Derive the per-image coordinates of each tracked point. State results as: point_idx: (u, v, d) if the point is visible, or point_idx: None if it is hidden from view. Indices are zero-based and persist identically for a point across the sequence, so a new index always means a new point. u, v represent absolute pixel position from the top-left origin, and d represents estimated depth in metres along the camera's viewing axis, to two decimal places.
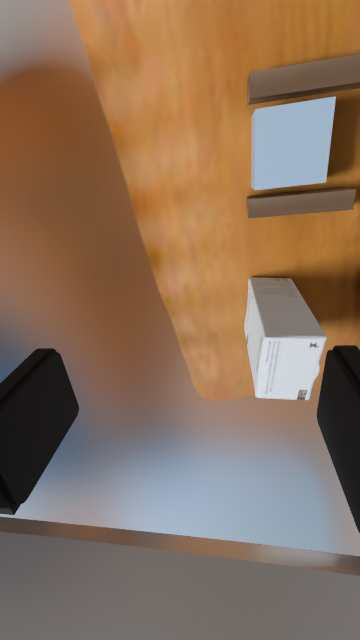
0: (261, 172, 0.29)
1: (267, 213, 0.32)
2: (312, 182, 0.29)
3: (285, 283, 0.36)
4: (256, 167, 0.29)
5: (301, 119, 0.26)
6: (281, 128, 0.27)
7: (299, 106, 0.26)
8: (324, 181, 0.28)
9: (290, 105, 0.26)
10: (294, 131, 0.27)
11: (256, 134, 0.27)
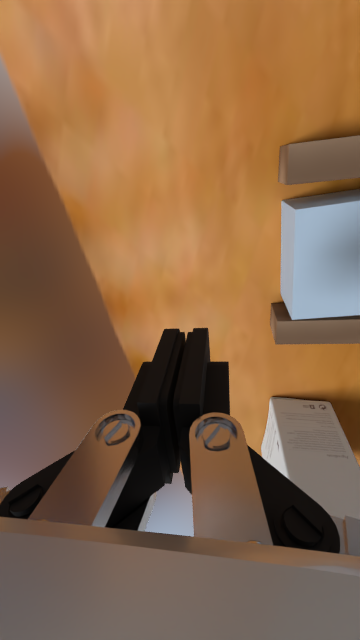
0: (303, 297, 0.18)
1: (305, 340, 0.21)
2: None
3: (324, 416, 0.25)
4: (295, 290, 0.18)
5: None
6: (339, 237, 0.16)
7: None
8: None
9: (357, 204, 0.15)
10: None
11: (296, 246, 0.16)
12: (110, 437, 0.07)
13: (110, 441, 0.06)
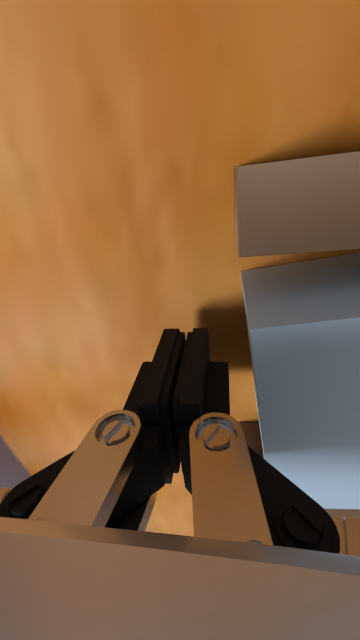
0: (288, 478, 0.09)
1: None
2: None
3: None
4: None
5: None
6: None
7: None
8: None
9: None
10: None
11: (261, 396, 0.07)
12: (110, 437, 0.07)
13: (110, 441, 0.06)
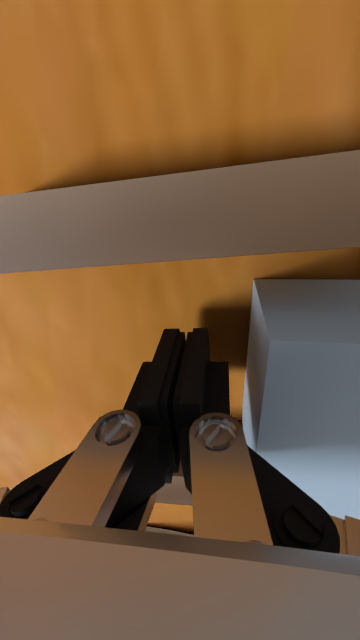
0: None
1: None
2: None
3: None
4: None
5: None
6: None
7: None
8: None
9: None
10: None
11: (266, 405, 0.08)
12: (110, 437, 0.07)
13: (110, 441, 0.06)
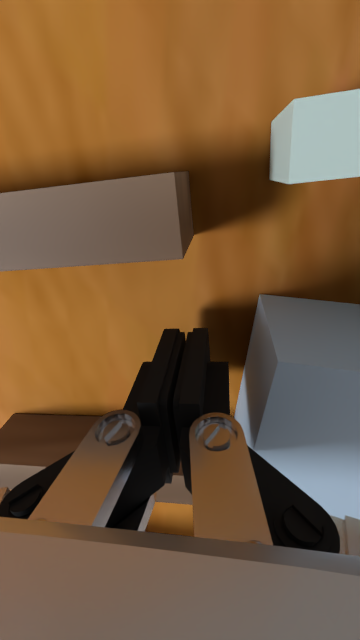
0: None
1: None
2: None
3: None
4: None
5: None
6: (355, 427, 0.08)
7: None
8: None
9: None
10: None
11: (265, 420, 0.08)
12: (110, 437, 0.07)
13: (110, 441, 0.06)
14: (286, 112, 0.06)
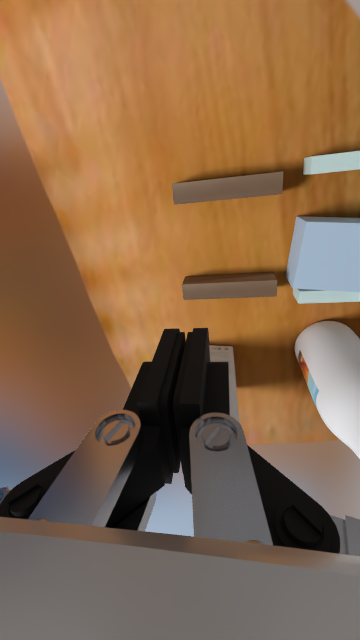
0: (301, 275, 0.30)
1: (200, 296, 0.34)
2: (348, 290, 0.30)
3: (225, 353, 0.38)
4: (298, 269, 0.30)
5: (347, 237, 0.28)
6: (327, 241, 0.28)
7: (347, 226, 0.27)
8: (359, 291, 0.30)
9: (339, 224, 0.27)
10: (339, 246, 0.28)
11: (303, 242, 0.29)
12: (110, 437, 0.07)
13: (110, 441, 0.06)
14: (310, 158, 0.27)
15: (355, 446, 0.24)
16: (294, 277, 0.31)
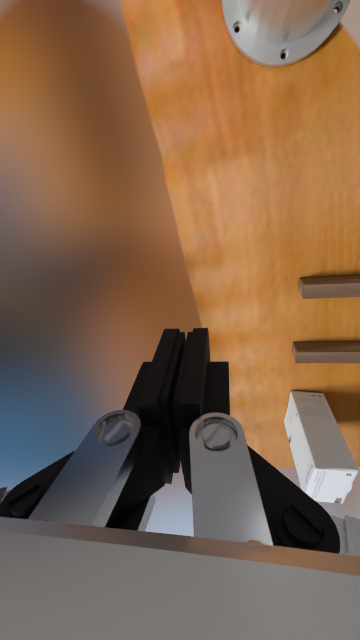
0: None
1: (310, 361, 0.44)
2: None
3: (320, 400, 0.48)
4: None
5: None
6: None
7: None
8: None
9: None
10: None
11: None
12: (110, 437, 0.07)
13: (110, 441, 0.06)
14: None
15: None
16: None
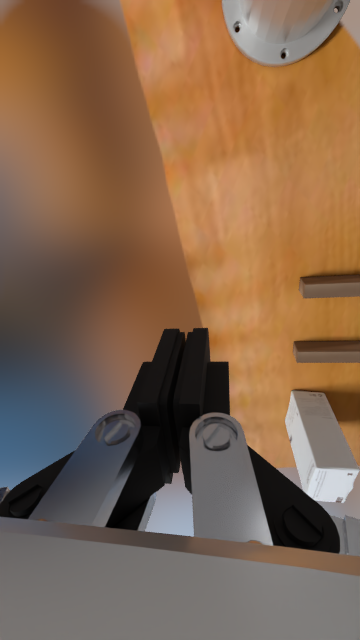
0: None
1: (311, 360, 0.44)
2: None
3: (321, 400, 0.48)
4: None
5: None
6: None
7: None
8: None
9: None
10: None
11: None
12: (110, 437, 0.07)
13: (110, 441, 0.06)
14: None
15: None
16: None
